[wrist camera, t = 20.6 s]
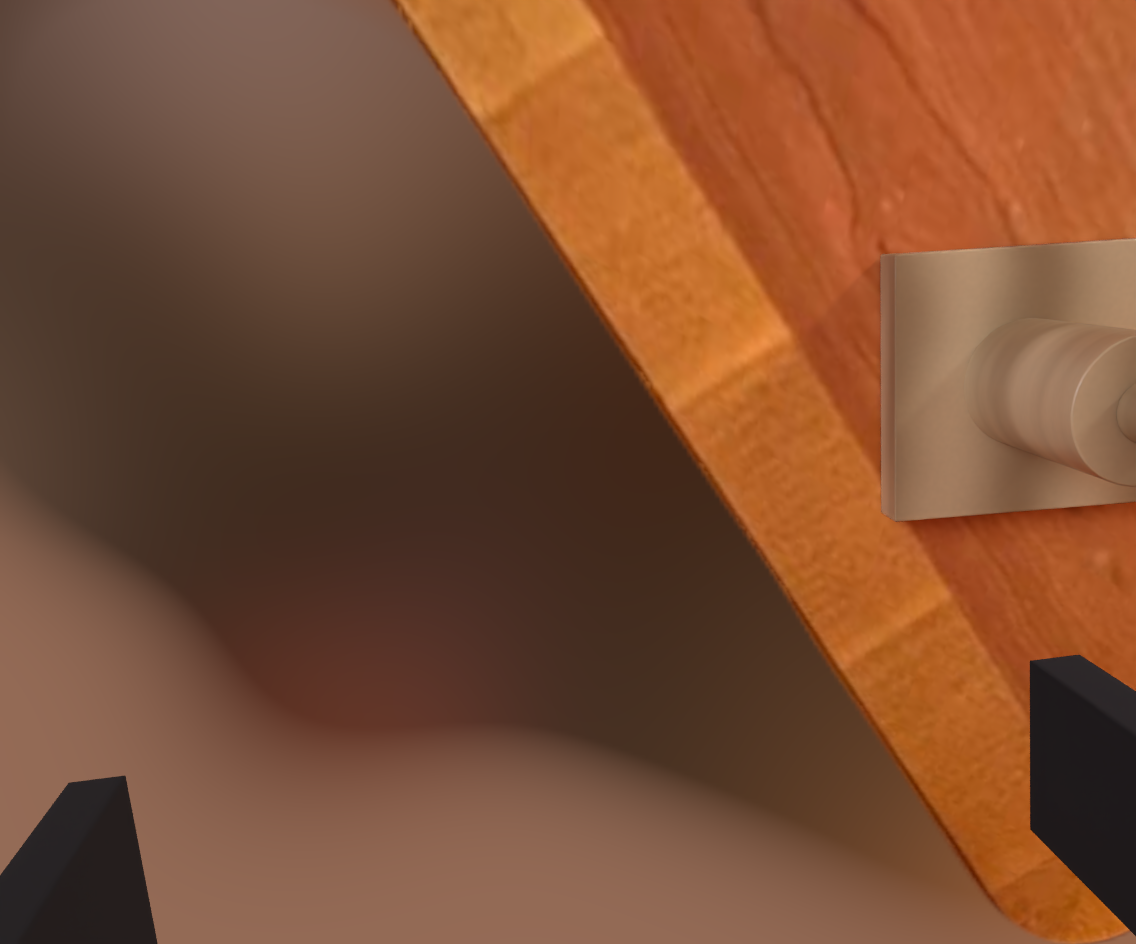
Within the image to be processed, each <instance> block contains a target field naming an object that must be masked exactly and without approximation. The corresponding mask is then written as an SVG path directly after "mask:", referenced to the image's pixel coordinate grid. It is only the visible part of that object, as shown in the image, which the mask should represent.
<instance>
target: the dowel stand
mask: <svg viewBox="0 0 1136 944" xmlns="http://www.w3.org/2000/svg"><path fill="white" fill-rule="evenodd" d="M1129 502H1136V238H1128V239H1113V240H1098V241H1082V242H1067V243H1051V244H1036V245H1021V246H1005V247H990V248H975V249H959V250H944V251H929V252H913V253H898V254H882V255H881V512H882V513H883V514H884V515H886V516H887V517H889V518H890V519H892V520H894V521H895V522H899V521H911V520H923V519H935V518H947V517H959V516H972V515H984V514H996V513H1008V512H1020V511H1032V510H1044V509H1056V508H1068V507H1080V506H1092V505H1104V504H1117V503H1129Z"/></svg>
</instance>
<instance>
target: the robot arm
mask: <svg viewBox="0 0 1136 944" xmlns="http://www.w3.org/2000/svg"><path fill="white" fill-rule="evenodd" d="M1030 829H1031V830H1032V831H1033V832H1034V833H1035V834H1036V835H1037V837H1038V838H1039V839H1040V840H1041V841H1042V842H1043V843H1044V844H1045V845H1046V846H1047V847H1048V848H1049V849H1050V850H1051V851H1052V852H1053V853H1054V854H1055V855H1056V856H1057V857H1058V858H1059V859H1060V860H1061V861H1062V862H1063V863H1064V864H1065V865H1066V866H1067V867H1068V868H1069V869H1070V870H1071V871H1072V872H1073V873H1074V874H1075V875H1076V876H1077V877H1078V878H1079V879H1080V880H1081V881H1082V882H1083V883H1084V884H1085V885H1086V886H1087V887H1088V888H1089V889H1090V890H1091V891H1092V892H1093V893H1094V894H1095V895H1096V896H1097V897H1098V898H1099V899H1100V900H1101V901H1102V902H1103V903H1104V904H1105V905H1106V906H1107V907H1108V908H1109V909H1110V910H1111V911H1112V912H1113V913H1114V914H1115V915H1116V916H1117V917H1118V919H1119V920H1120V921H1121V922H1122V923H1123V924H1124V925H1125V926H1126V927H1127V928H1128V929H1129V930H1130V931H1131V932H1132V933H1133V934H1134V935H1135V936H1136V691H1134V690H1133V689H1131V688H1130V687H1128V686H1127V685H1125V684H1124V683H1122V682H1121V681H1119V680H1118V679H1116V678H1114V677H1113V676H1111V675H1110V674H1108V673H1107V672H1105V671H1104V670H1102V669H1101V668H1099V667H1098V666H1096V665H1094V664H1093V663H1091V662H1090V661H1088V660H1087V659H1085V658H1084V657H1082V656H1081V655H1073V656H1065V657H1057V658H1049V659H1041V660H1033V661H1030ZM0 944H157V939H156V934H155V928H154V923H153V918H152V913H151V907H150V902H149V897H148V892H147V886H146V881H145V876H144V871H143V866H142V860H141V855H140V850H139V845H138V839H137V834H136V829H135V824H134V819H133V813H132V808H131V803H130V798H129V793H128V787H127V782H126V777H125V776H119V777H111V778H104V779H95V780H89V781H81V782H72V783H68V785H67V786H66V787H65V789H64V790H63V791H62V793H61V794H60V795H59V797H58V798H57V800H56V801H55V802H54V804H53V805H52V806H51V808H50V809H49V810H48V812H47V813H46V814H45V816H44V817H43V819H42V820H41V821H40V822H39V824H38V825H37V827H36V828H35V829H34V831H33V832H32V833H31V835H30V836H29V837H28V839H27V840H26V841H25V843H24V844H23V845H22V847H21V848H20V850H19V851H18V852H17V853H16V855H15V856H14V858H13V859H12V860H11V862H10V863H9V864H8V866H7V867H6V868H5V870H4V871H3V872H2V874H1V875H0Z"/></svg>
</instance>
